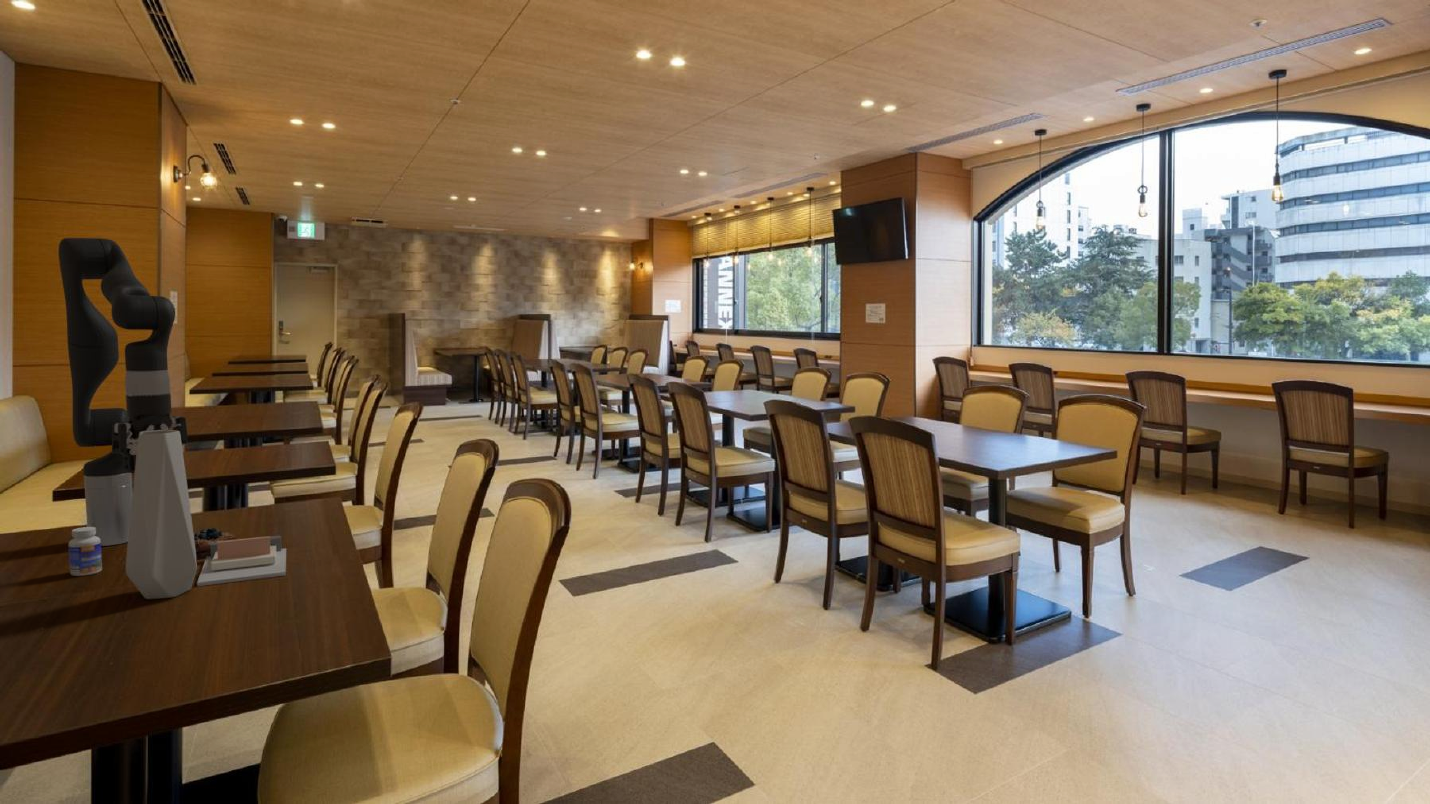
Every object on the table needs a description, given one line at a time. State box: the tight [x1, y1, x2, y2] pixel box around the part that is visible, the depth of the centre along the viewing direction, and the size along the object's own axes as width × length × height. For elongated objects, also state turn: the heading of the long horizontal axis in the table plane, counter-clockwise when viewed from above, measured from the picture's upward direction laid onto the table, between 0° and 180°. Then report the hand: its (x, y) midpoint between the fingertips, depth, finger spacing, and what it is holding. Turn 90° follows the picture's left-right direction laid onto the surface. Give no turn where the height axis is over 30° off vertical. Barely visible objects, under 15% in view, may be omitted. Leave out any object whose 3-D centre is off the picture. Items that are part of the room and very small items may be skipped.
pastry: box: [194, 527, 238, 561], centre depth 182 cm, size 11×12×6 cm
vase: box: [125, 429, 198, 600], centre depth 153 cm, size 12×12×33 cm
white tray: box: [196, 535, 287, 587], centre depth 171 cm, size 20×16×4 cm
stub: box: [211, 535, 276, 571], centre depth 170 cm, size 5×12×5 cm, turn 119°
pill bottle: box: [68, 526, 103, 577], centre depth 166 cm, size 5×5×10 cm
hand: (152, 469), depth 160 cm, fingers open, 8 cm apart
